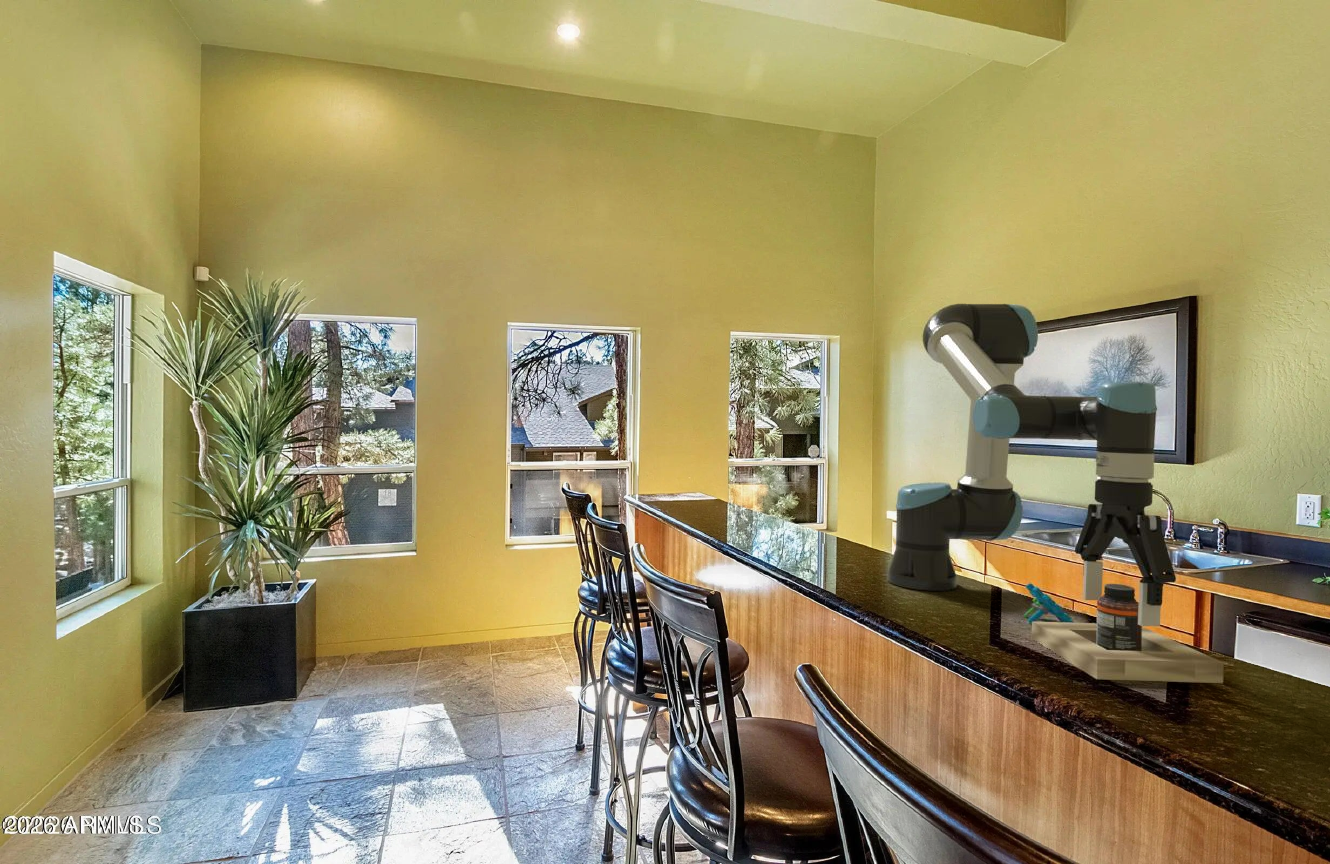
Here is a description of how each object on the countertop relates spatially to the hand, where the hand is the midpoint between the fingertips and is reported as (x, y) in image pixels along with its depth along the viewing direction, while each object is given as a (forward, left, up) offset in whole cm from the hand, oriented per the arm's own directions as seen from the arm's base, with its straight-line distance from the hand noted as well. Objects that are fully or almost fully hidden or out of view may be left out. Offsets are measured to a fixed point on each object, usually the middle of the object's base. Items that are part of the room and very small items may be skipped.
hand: (1118, 612), depth 104 cm
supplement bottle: (0, 0, -7) cm, 7 cm away
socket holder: (0, 0, -7) cm, 7 cm away
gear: (-18, -1, -8) cm, 20 cm away
